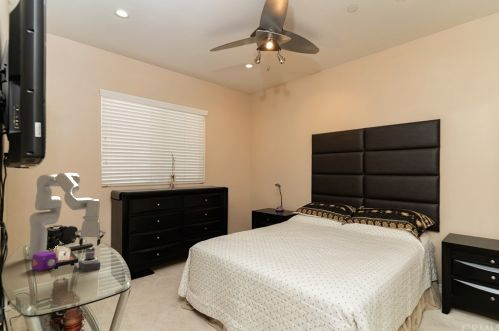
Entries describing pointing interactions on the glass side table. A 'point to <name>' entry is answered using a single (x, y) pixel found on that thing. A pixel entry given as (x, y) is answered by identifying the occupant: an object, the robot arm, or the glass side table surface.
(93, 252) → the lens
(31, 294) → the glass side table surface
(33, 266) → the toy camera
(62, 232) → the movie camera
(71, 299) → the glass side table surface
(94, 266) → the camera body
